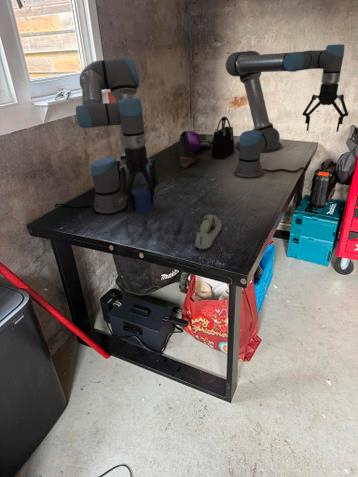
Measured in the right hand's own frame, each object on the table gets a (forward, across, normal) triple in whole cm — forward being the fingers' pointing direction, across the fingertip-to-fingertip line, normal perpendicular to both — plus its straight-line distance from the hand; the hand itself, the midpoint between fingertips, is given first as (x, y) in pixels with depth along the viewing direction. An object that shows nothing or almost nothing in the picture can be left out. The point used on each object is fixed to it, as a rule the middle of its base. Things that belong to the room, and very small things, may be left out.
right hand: (322, 130), depth 162 cm
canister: (+14, -59, -80) cm, 101 cm away
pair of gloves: (+26, -78, +63) cm, 104 cm away
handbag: (+26, -60, +37) cm, 75 cm away
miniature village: (+26, -43, +63) cm, 81 cm away
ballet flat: (+26, -35, -72) cm, 84 cm away
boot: (+26, -78, +15) cm, 83 cm away
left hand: (+13, -59, -80) cm, 101 cm away
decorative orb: (+26, -84, +37) cm, 96 cm away
